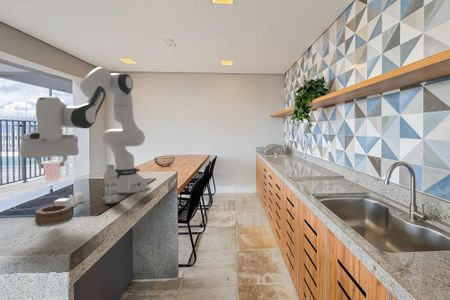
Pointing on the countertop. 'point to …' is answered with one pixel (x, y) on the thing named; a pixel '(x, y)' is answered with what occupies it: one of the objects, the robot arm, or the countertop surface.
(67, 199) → the container set
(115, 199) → the plastic bottle
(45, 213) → the walnut ring
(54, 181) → the beverage cup
